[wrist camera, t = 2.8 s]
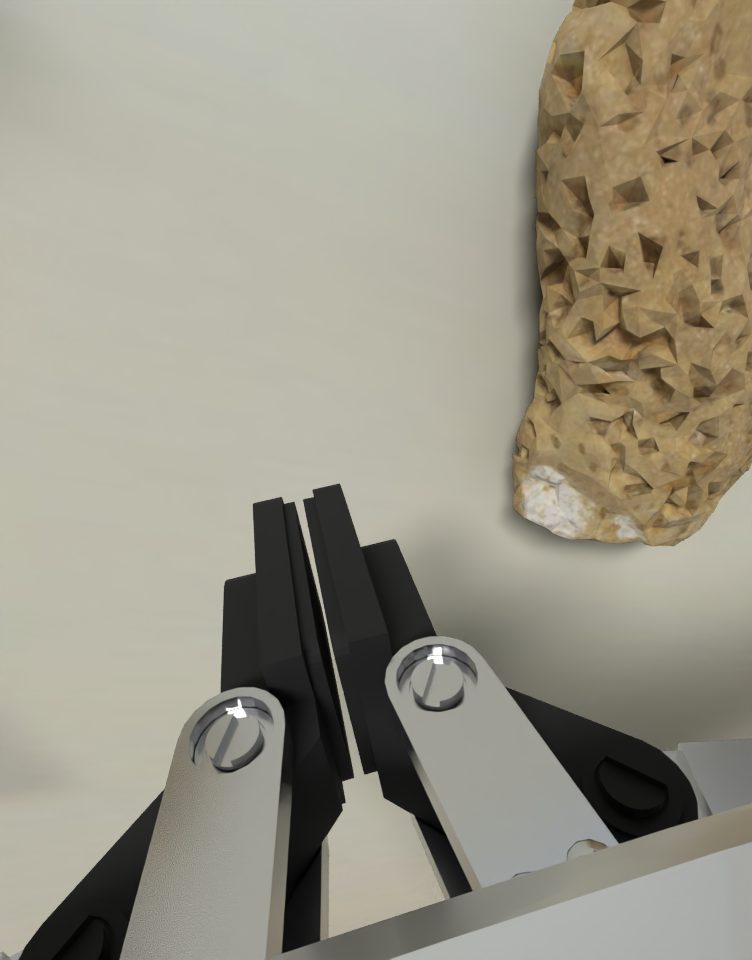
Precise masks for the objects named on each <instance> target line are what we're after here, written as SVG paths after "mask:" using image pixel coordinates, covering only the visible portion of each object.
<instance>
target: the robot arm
mask: <svg viewBox="0 0 752 960" xmlns="http://www.w3.org/2000/svg"><path fill="white" fill-rule="evenodd" d="M313 494H314V497H312V498H308V499H304V500H303V502H304V507H305V512H306V517H307V522H308V527H309V532H310V537H311V542H312V548H313V553H314V558H315V563H316V568H317V573H318V578H319V583H320V588H321V593H322V598H323V604H324V609H325V614H326V619H327V624H328V629H329V634H330V639H331V643H332V648H333V652H334V656H335V660H336V664H337V668H338V672H339V676H340V680H341V684H342V688H343V692H344V696H345V700H346V704H347V708H348V712H349V716H350V720H351V724H352V727H353V731H354V735H355V739H356V743H357V747H358V751H359V755H360V759H361V763H362V767H363V771H364V774H369V773H372V772H376V771H378V775H379V779H380V784H381V788H382V792H383V796H384V798H385V799H387V800H389V801H390V802H392V803H394V804H396V805H397V806H399V807H401V808H403V809H404V810H406V811H408V812H410V814H411V818H412V822H413V825H414V827H415V830H416V832H417V834H418V837H419V839H420V841H421V844H422V846H423V848H424V851H425V853H426V855H427V858H428V860H429V862H430V865H431V867H432V869H433V872H434V874H435V876H436V879H437V881H438V883H439V886H440V888H441V890H442V893H443V895H444V897H445V900H444V901H441V902H438V903H435V904H432V905H429V906H426V907H423V908H420V909H417V910H414V911H411V912H408V913H405V914H402V915H399V916H395V917H392V918H389V919H386V920H383V921H380V922H377V923H374V924H371V925H368V926H365V927H362V928H359V929H356V930H353V931H350V932H347V933H344V934H341V935H337V936H334V937H331V938H328V933H329V846H328V839H327V834H328V833H329V831H330V829H331V828H332V826H333V825H334V823H335V822H336V820H337V818H338V817H339V815H340V814H341V812H342V811H343V809H342V804H343V803H346V802H345V796H344V790H343V784H342V781H345V780H348V779H352V778H354V774H353V768H352V763H351V757H350V752H349V747H348V742H347V737H346V731H345V726H344V721H343V716H342V710H341V705H340V700H339V695H338V689H337V684H336V679H335V674H334V669H333V663H332V658H331V653H330V648H329V642H328V637H327V632H326V627H325V622H324V617H323V612H322V608H321V604H320V600H319V596H318V592H317V588H316V584H315V580H314V576H313V572H312V569H311V565H310V561H309V557H308V553H307V549H306V545H305V541H304V537H303V533H302V529H301V525H300V521H299V517H298V514H297V510H296V506H295V503H294V502H291V503H286V504H284V502H283V499H282V497H279V498H275V499H270V500H266V501H262V502H257V503H254V504H253V520H254V543H255V565H256V573H254V574H250V575H245V576H241V577H237V578H233V579H229V580H226V582H225V585H224V605H223V635H222V665H221V693H220V694H218V695H217V696H215V697H213V698H211V699H209V700H208V701H206V702H205V703H204V704H203V705H202V706H200V707H199V708H198V709H197V710H196V711H195V712H194V713H193V714H192V716H191V717H190V718H189V720H188V721H187V722H186V723H185V725H184V727H183V729H182V731H181V734H180V736H179V738H178V741H177V744H176V748H175V752H174V756H173V760H172V763H171V767H170V771H169V775H168V778H167V782H166V786H165V789H164V790H163V791H162V792H161V793H160V795H159V796H158V797H157V798H156V799H155V800H154V801H153V802H152V803H151V804H150V806H149V807H148V808H147V809H146V810H145V811H144V812H143V813H142V814H141V816H140V817H139V818H138V819H137V820H136V821H135V822H134V823H133V824H132V825H131V827H130V828H129V829H128V830H127V831H126V832H125V833H124V834H123V835H122V837H121V838H120V839H119V840H118V841H117V842H116V843H115V844H114V845H113V847H112V848H111V849H110V850H109V851H108V852H107V853H106V854H105V855H104V856H103V858H102V859H101V860H100V861H99V862H98V863H97V864H96V865H95V866H94V868H93V869H92V870H91V871H90V872H89V873H88V874H87V875H86V876H85V878H84V879H83V880H82V881H81V882H80V883H79V884H78V885H77V886H76V887H75V889H74V890H73V891H72V892H71V893H70V894H69V895H68V896H67V897H66V899H65V900H64V901H63V902H62V903H61V904H60V905H59V906H58V907H57V908H56V910H55V911H54V912H53V913H52V914H51V915H50V916H49V917H48V918H47V920H46V921H45V922H44V923H43V924H42V925H41V927H40V928H39V929H38V931H37V932H36V933H35V935H34V936H33V937H32V938H31V940H30V941H29V942H28V944H27V945H26V946H25V948H24V950H22V951H20V952H19V953H17V954H15V955H13V956H11V957H8V956H7V955H6V954H5V953H4V952H1V953H0V960H752V739H739V740H721V741H702V742H684V743H678V748H677V750H675V751H661V750H659V749H657V748H655V747H653V746H651V745H649V744H647V743H646V742H644V741H642V740H639V739H637V738H634V737H631V736H629V735H626V734H624V733H621V732H619V731H616V730H614V729H611V728H609V727H606V726H603V725H601V724H598V723H596V722H593V721H591V720H588V719H586V718H583V717H581V716H578V715H575V714H573V713H570V712H568V711H565V710H563V709H560V708H558V707H555V706H553V705H550V704H547V703H545V702H542V701H540V700H537V699H535V698H532V697H530V696H527V695H525V694H522V693H519V692H517V691H514V690H512V689H509V688H507V687H504V685H503V684H502V683H501V681H500V680H499V679H498V677H497V676H496V674H495V673H494V672H493V670H492V669H491V668H490V666H489V665H488V663H487V662H486V661H485V659H484V658H483V657H482V656H481V655H480V654H479V653H478V652H477V651H476V650H475V649H474V648H473V647H472V646H470V645H469V644H467V643H465V642H463V641H461V640H459V639H454V638H450V637H446V636H437V635H436V633H435V631H434V628H433V626H432V624H431V621H430V619H429V616H428V614H427V612H426V609H425V607H424V605H423V602H422V600H421V598H420V595H419V593H418V591H417V588H416V586H415V584H414V581H413V579H412V577H411V574H410V572H409V569H408V567H407V565H406V562H405V560H404V558H403V555H402V553H401V551H400V548H399V546H398V544H397V542H396V540H395V539H392V540H388V541H384V542H380V543H376V544H372V545H368V546H364V547H360V544H359V541H358V537H357V534H356V531H355V528H354V525H353V522H352V519H351V516H350V513H349V510H348V507H347V504H346V500H345V497H344V494H343V491H342V488H341V485H340V484H336V485H331V486H327V487H322V488H318V489H314V490H313Z"/></svg>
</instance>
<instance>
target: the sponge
mask: <svg viewBox="0 0 752 960" xmlns="http://www.w3.org/2000/svg"><path fill="white" fill-rule="evenodd" d="M536 168H537V180H536V189H535V198H537V207H538V215H537V218H536V231H537V243H536V253H537V263H538V270H539V278H540V284H541V289H542V294H543V301H542V305H541V309H540V313H539V327H540V343H541V344H542V345H543V346H541V347H540V349H539V350H538V359H539V369H538V373H537V377H536V383H535V392H534V399H533V400H532V402H531V403H530V405H529V407H528V408H527V412H526V416H525V417H524V419H523V421H522V422H521V425H520V428H519V431H518V434H517V437H516V446H517V447H518V448H519V454H518V455H513V454H512V459H513V480H514V489H515V493H514V499H513V508H514V509H515V510H516V511H517V512H518V513H519V514H521V515H522V516H523V517H524V518H526V519H528V520H530V521H531V522H533V523H536V524H538V525H540V526H543V527H545V528H547V529H549V530H550V531H551V532H552V533H553V534H556V535H559V536H562V537H565V538H568V539H571V540H572V539H589V540H596V541H600V542H609V543H626V542H633V541H641V542H643V543H644V544H646V545H650V546H675V545H676V544H678V543H679V542H681V541H684V540H685V539H687V538H689V537H690V536H691V535H692V534H694V533H695V532H697V531H698V530H700V529H701V527H702V526H703V525H704V523H705V522H706V521H707V519H708V518H709V517H710V516H711V514H712V513H713V512H714V510H715V508H716V506H717V504H718V502H719V500H720V499H721V498H722V496H723V495H724V494H725V493H726V492H727V491H728V490H729V489H730V488H731V487H732V485H733V484H734V483H735V482H736V481H737V480H738V479H739V478H740V477H741V476H742V475H743V474H744V473H745V472H746V471H748V470H749V469H750V466H751V464H752V0H575V2H574V4H573V9H572V12H571V13H570V14H569V15H567V16H566V18H565V20H564V22H563V23H562V25H561V27H560V28H559V31H558V33H557V34H556V36H555V38H554V40H553V42H552V46H551V49H550V53H549V56H548V60H547V64H546V67H545V71H544V75H543V78H542V82H541V86H540V89H539V115H538V149H537V150H536Z"/></svg>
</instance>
